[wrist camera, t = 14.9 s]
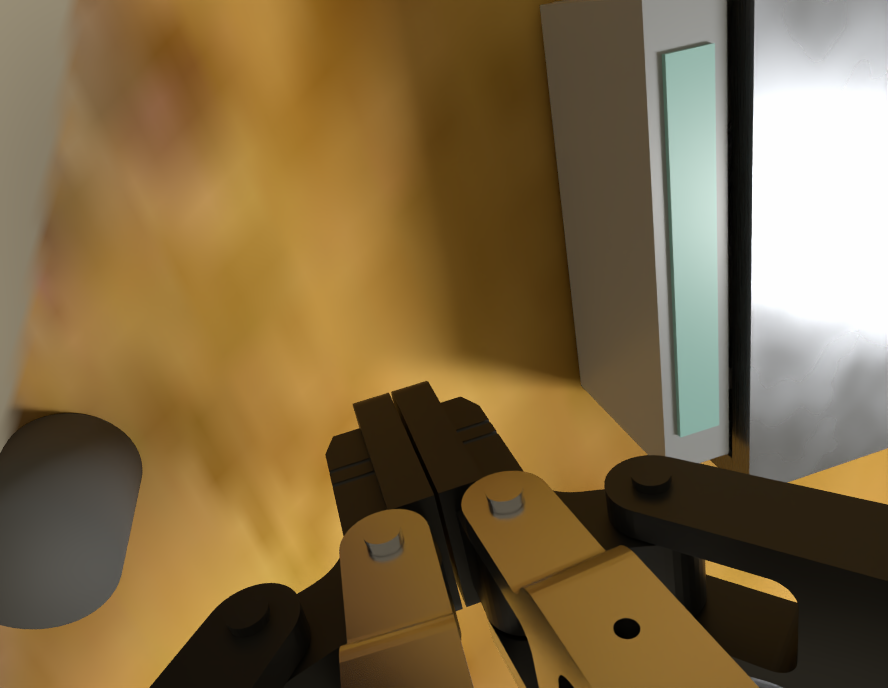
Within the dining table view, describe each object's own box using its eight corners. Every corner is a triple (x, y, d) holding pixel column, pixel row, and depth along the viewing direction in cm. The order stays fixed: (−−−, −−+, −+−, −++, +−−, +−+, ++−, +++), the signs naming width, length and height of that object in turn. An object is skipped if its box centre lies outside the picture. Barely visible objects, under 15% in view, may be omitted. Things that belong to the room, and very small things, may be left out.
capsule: (160, 501, 23) (145, 599, 19) (32, 540, 23) (-11, 648, 19) (114, 397, 22) (86, 480, 18) (-26, 435, 21) (-88, 531, 17)
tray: (933, 279, 28) (1093, 336, 23) (581, 385, 25) (669, 476, 20) (981, -88, 22) (1205, -123, 17) (539, 5, 20) (645, -3, 15)
